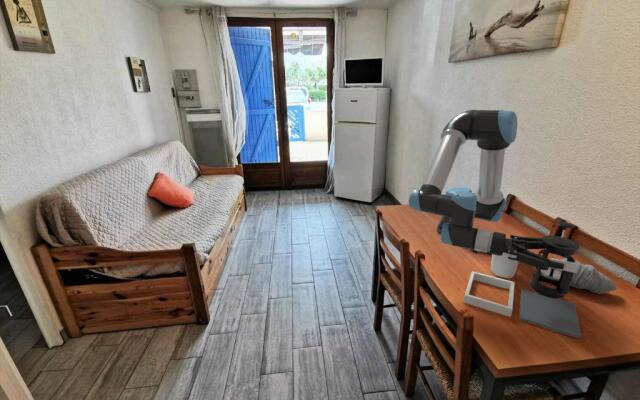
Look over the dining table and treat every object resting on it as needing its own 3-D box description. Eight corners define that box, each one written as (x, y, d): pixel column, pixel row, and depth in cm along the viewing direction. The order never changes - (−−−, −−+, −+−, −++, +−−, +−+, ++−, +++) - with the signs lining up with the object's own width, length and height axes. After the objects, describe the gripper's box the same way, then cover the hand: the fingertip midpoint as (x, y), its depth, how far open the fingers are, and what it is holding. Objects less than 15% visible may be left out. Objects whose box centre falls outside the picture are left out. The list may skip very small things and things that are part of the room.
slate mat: (519, 320, 96) (520, 317, 95) (521, 291, 109) (521, 289, 109) (580, 339, 88) (581, 336, 88) (573, 305, 101) (574, 303, 101)
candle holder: (513, 267, 123) (519, 241, 119) (519, 281, 115) (526, 253, 111) (486, 263, 127) (491, 238, 122) (490, 276, 118) (496, 249, 114)
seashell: (617, 295, 106) (626, 270, 103) (587, 303, 102) (595, 278, 99) (570, 270, 121) (576, 248, 117) (542, 277, 117) (548, 254, 113)
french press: (521, 279, 102) (537, 216, 94) (550, 279, 101) (568, 216, 94) (545, 302, 91) (565, 233, 83) (577, 302, 90) (600, 233, 83)
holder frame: (463, 302, 104) (464, 295, 103) (470, 277, 118) (472, 271, 117) (510, 317, 97) (512, 309, 96) (512, 289, 110) (514, 282, 109)
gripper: (491, 238, 111) (567, 253, 100) (485, 268, 93) (577, 291, 82) (494, 219, 108) (573, 233, 97) (489, 246, 90) (585, 267, 79)
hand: (575, 259), depth 89 cm, fingers closed on french press, 10 cm apart
